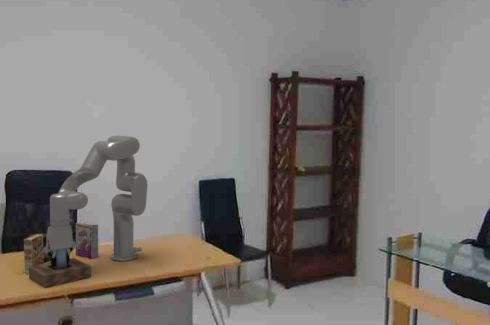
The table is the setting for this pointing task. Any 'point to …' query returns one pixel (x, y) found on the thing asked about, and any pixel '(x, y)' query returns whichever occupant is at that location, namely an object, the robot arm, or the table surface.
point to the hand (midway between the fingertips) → (60, 264)
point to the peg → (61, 259)
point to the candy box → (33, 251)
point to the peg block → (59, 273)
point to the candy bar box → (87, 239)
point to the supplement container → (45, 256)
